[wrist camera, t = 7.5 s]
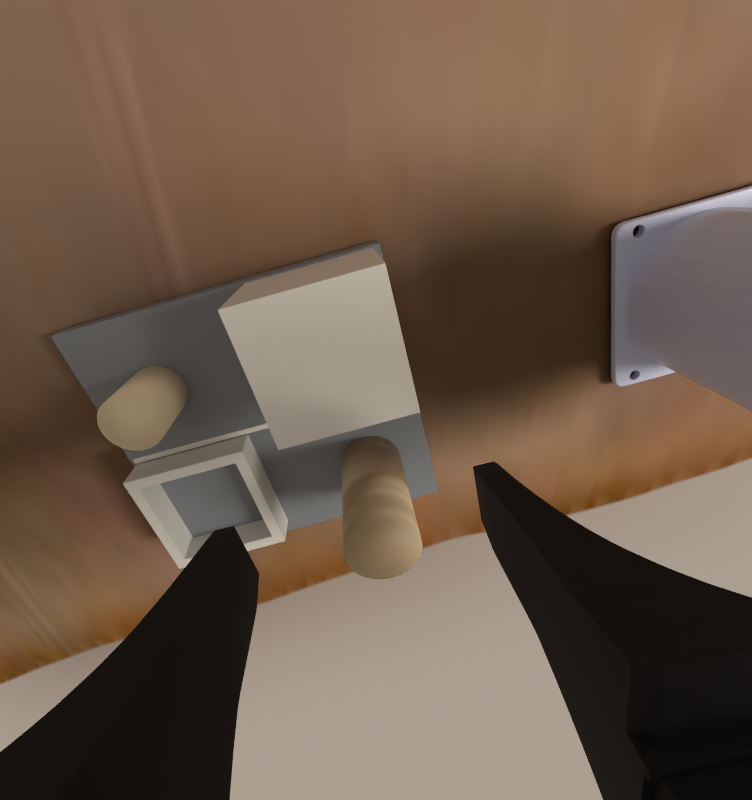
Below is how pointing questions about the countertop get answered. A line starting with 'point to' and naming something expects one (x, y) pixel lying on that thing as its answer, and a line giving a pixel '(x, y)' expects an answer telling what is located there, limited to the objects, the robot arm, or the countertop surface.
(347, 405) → the cover
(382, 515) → the loose pin
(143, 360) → the board
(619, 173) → the countertop surface
